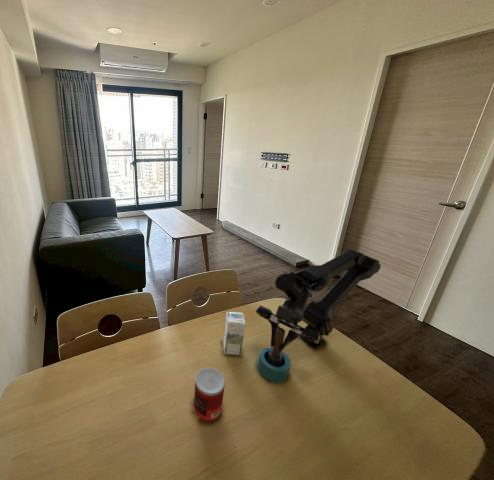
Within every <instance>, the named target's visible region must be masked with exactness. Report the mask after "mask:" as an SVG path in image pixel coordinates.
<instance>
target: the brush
mask: <svg viewBox="0 0 494 480" xmlns="http://www.w3.org/2000/svg"><path fill="white" fill-rule="evenodd" d="M285 335H286V330H285V328H282V327H280V328H277V330H276V335H275V340H274V345H273V347H272V348H273V350H272V351H270V352H269V356H268V363H269V364H270V365H272V366H275V367H279V366H280V365H281V362H282V354H281V352H280V351H279V350H280V348H281V345H282V344H283V342H284V340H285Z"/></svg>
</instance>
